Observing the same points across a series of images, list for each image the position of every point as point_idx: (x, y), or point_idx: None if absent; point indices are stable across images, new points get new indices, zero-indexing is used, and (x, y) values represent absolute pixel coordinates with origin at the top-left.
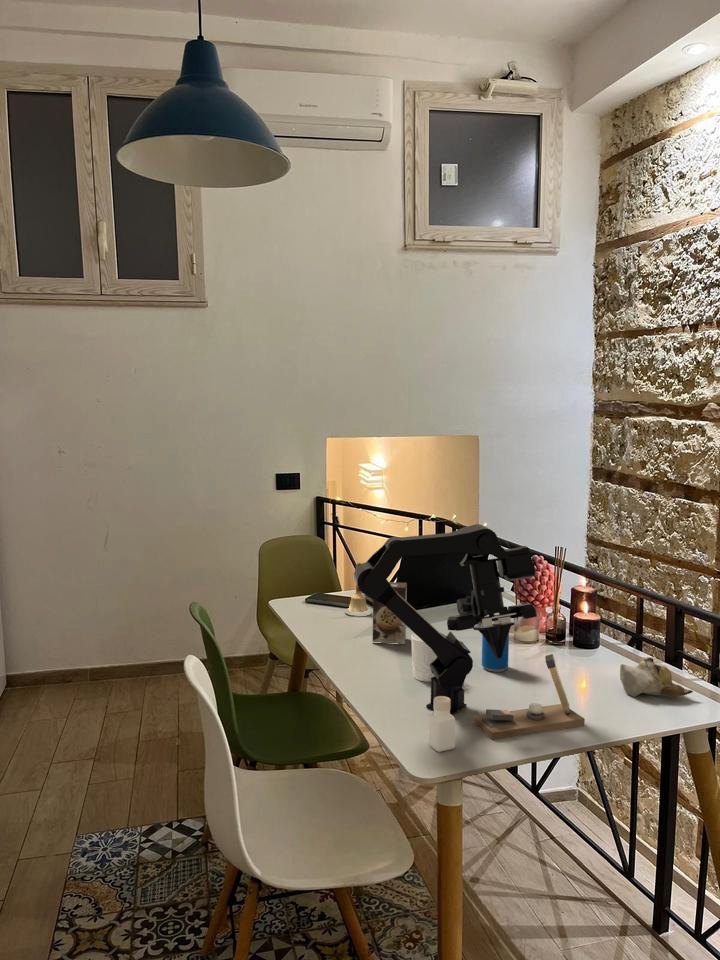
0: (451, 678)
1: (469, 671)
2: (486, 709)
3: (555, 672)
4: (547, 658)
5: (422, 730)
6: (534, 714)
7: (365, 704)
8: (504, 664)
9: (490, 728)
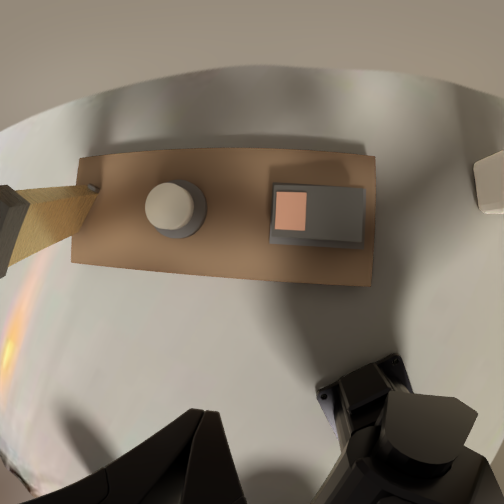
0: (438, 411)
1: (356, 435)
2: (361, 239)
3: (25, 192)
4: None
5: (491, 291)
6: None
7: (492, 443)
8: None
9: (367, 184)
